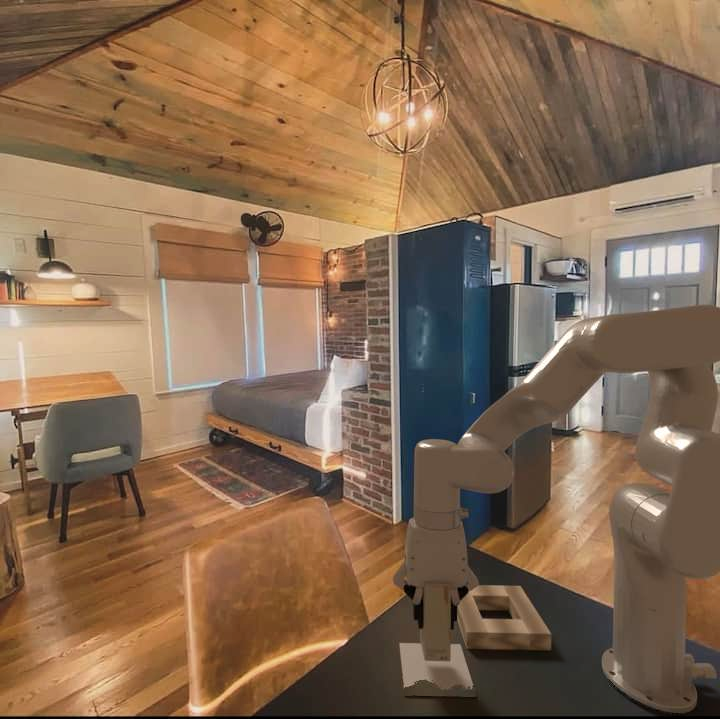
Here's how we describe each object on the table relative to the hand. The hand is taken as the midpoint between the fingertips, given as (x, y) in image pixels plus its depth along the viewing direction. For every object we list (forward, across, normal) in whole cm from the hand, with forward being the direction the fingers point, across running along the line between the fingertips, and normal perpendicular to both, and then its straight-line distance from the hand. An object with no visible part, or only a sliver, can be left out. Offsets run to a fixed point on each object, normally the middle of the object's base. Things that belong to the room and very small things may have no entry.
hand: (434, 622), depth 68 cm
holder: (+8, -14, -12) cm, 20 cm away
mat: (+8, 0, 0) cm, 8 cm away
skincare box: (+5, 0, 0) cm, 5 cm away
